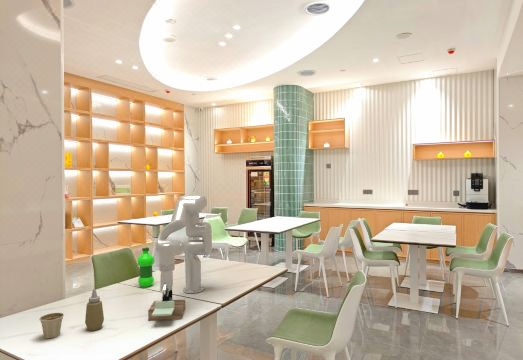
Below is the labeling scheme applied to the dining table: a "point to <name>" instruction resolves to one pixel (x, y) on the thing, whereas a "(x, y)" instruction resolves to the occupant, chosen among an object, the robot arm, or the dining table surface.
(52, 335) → the flower pot
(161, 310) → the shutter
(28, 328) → the dining table surface
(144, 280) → the plastic bottle
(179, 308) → the socket
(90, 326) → the squeeze bottle
